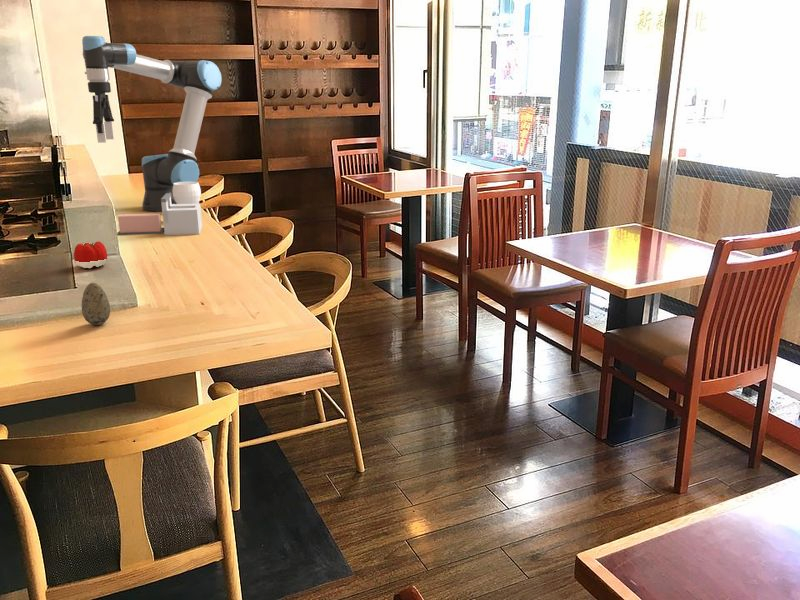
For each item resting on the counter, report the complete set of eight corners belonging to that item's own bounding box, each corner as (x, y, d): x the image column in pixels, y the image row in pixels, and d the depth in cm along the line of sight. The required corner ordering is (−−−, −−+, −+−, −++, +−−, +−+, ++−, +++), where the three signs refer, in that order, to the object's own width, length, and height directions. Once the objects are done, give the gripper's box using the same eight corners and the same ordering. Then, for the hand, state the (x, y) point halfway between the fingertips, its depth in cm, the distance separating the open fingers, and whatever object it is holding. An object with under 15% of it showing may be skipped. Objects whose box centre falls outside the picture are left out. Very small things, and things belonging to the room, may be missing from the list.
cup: (207, 218, 274) (204, 181, 270) (197, 224, 264) (193, 185, 259) (182, 218, 275) (178, 181, 271) (171, 223, 265) (167, 185, 260)
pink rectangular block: (122, 230, 250) (120, 214, 248) (161, 229, 252) (160, 213, 250) (119, 232, 246) (117, 216, 244) (160, 231, 248) (158, 215, 246)
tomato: (69, 269, 201) (66, 244, 199) (92, 262, 209) (88, 238, 207) (94, 272, 198) (91, 247, 196) (116, 265, 206) (113, 241, 204)
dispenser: (169, 227, 257) (166, 193, 253) (202, 226, 259) (199, 192, 255) (164, 235, 245) (160, 199, 241) (199, 234, 247) (195, 198, 243)
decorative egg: (84, 330, 152) (77, 288, 149) (84, 322, 158) (78, 281, 155) (112, 326, 155) (106, 285, 152) (111, 318, 160) (106, 278, 157)
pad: (121, 230, 253) (121, 228, 252) (166, 228, 255) (166, 227, 255) (117, 235, 245) (117, 233, 245) (163, 233, 248) (163, 231, 248)
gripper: (95, 81, 258) (103, 138, 264) (78, 81, 234) (87, 144, 241) (116, 81, 259) (123, 138, 265) (101, 81, 236) (109, 143, 242)
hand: (106, 141), depth 253 cm, fingers open, 13 cm apart
